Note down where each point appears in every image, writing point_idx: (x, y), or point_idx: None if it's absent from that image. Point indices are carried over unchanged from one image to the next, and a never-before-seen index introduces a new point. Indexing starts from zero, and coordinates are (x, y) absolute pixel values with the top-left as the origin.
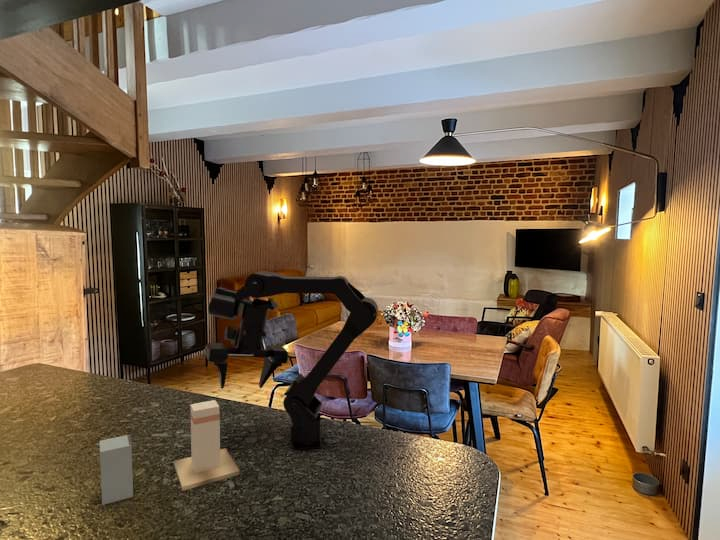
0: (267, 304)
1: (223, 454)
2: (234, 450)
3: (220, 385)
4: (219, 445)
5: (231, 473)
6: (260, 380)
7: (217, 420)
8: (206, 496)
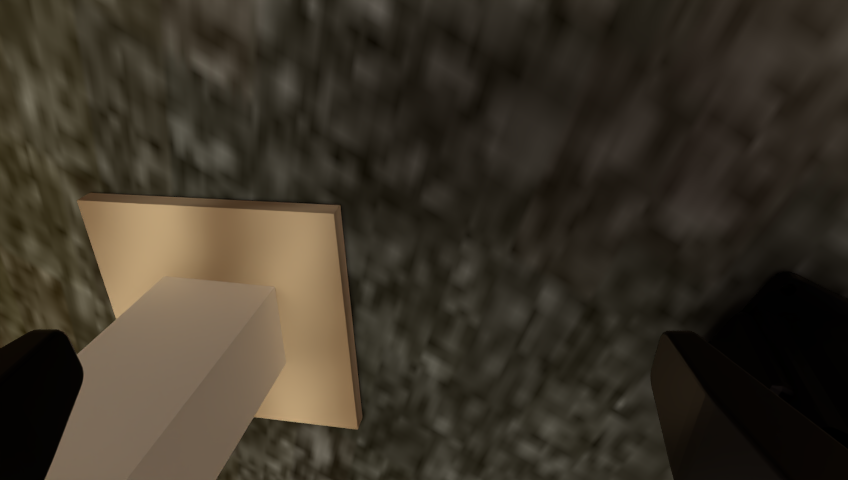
0: None
1: (313, 271)
2: (388, 217)
3: (17, 340)
4: (235, 441)
5: (324, 424)
6: (704, 431)
7: None
8: (233, 458)
